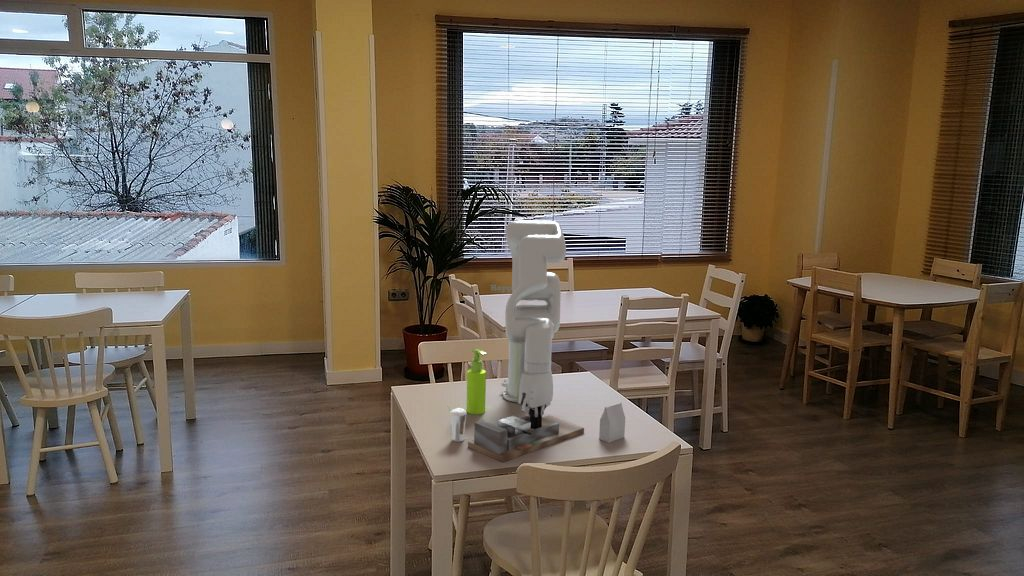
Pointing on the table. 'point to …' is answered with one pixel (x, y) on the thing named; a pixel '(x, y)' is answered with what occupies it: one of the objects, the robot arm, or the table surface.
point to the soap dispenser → (476, 385)
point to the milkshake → (458, 424)
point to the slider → (515, 426)
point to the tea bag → (612, 423)
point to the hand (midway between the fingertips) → (535, 428)
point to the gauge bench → (520, 438)
